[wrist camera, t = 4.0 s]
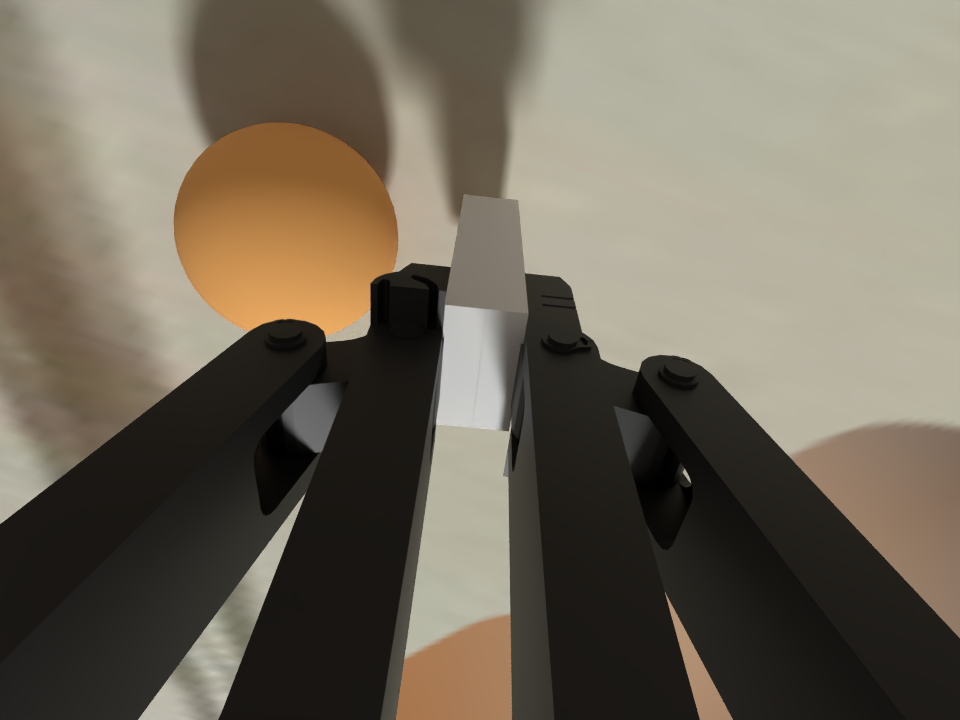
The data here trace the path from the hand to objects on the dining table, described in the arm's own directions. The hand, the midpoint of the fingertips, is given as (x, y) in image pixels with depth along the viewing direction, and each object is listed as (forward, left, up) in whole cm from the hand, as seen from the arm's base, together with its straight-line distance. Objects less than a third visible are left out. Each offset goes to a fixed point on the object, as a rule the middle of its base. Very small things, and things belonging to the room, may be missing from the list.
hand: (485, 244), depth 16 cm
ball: (-4, +3, +1) cm, 5 cm away
